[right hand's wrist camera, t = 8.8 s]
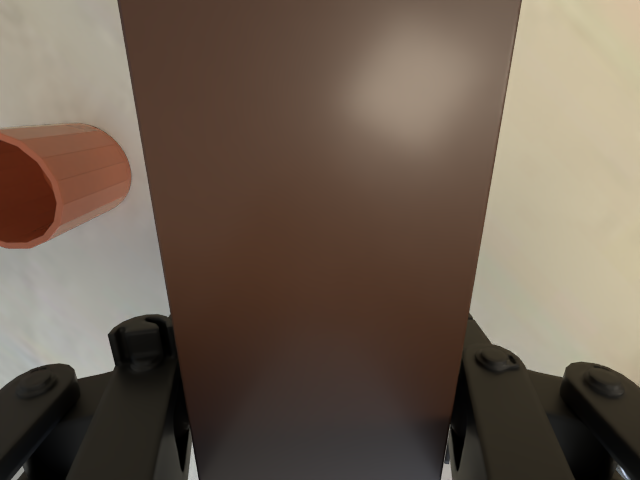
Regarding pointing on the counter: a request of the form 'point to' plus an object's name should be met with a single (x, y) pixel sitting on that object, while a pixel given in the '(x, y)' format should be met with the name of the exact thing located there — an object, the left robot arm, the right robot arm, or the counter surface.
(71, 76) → the counter surface
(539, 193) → the counter surface
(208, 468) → the walnut box
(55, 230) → the terracotta cup
